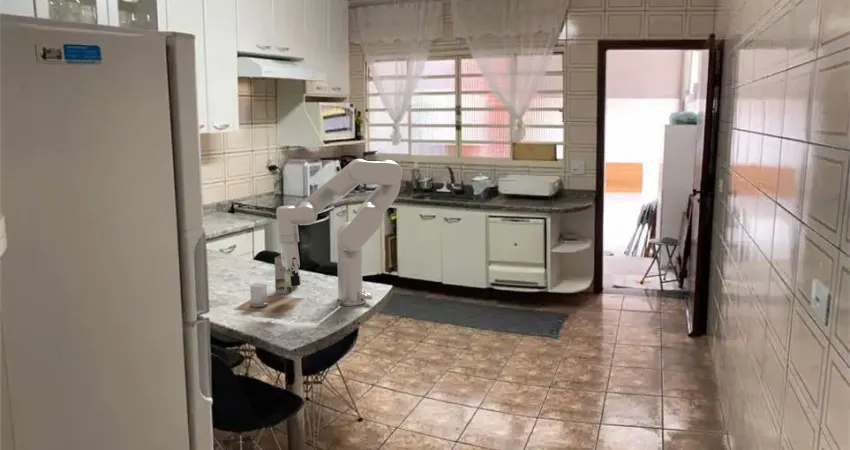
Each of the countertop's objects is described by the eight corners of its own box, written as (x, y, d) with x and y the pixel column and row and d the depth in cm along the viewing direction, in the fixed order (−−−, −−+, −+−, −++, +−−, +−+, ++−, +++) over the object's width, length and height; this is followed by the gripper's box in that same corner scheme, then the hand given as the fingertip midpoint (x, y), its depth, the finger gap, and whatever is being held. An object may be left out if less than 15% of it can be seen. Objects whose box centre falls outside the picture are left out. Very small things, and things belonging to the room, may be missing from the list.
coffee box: (290, 297, 278) (288, 258, 275) (275, 296, 279) (273, 257, 276) (298, 291, 287) (297, 253, 284) (284, 290, 288) (282, 252, 285)
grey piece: (271, 303, 265) (270, 283, 263) (263, 308, 258) (262, 288, 257) (255, 302, 266) (254, 282, 265) (246, 307, 260) (245, 286, 258)
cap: (304, 283, 269) (302, 268, 268) (297, 287, 263) (296, 273, 262) (289, 282, 270) (288, 268, 269) (283, 287, 265) (281, 273, 263)
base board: (305, 302, 272) (305, 298, 271) (282, 317, 253) (282, 313, 252) (258, 298, 276) (258, 294, 276) (233, 313, 257) (233, 309, 257)
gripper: (273, 235, 269) (278, 280, 273) (285, 243, 254) (289, 290, 257) (292, 233, 272) (296, 277, 276) (304, 240, 257) (309, 287, 260)
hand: (293, 283), depth 267 cm, fingers closed on cap, 6 cm apart
